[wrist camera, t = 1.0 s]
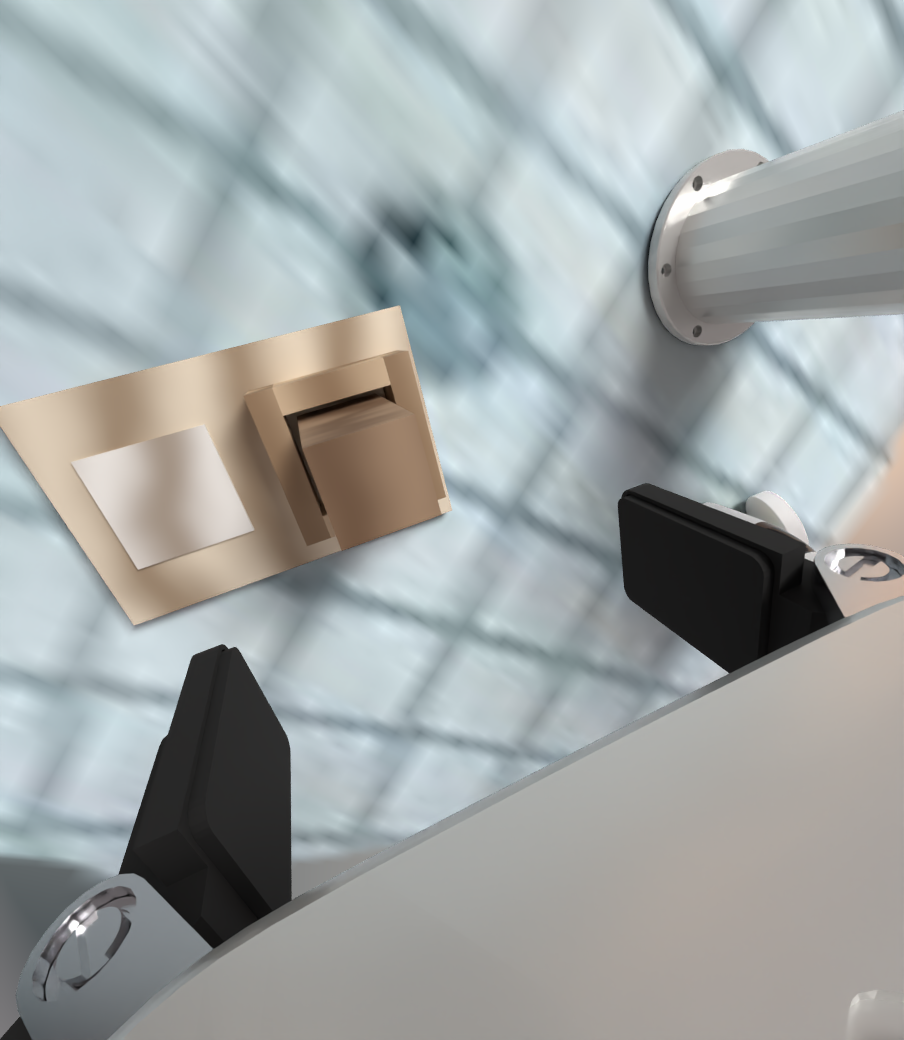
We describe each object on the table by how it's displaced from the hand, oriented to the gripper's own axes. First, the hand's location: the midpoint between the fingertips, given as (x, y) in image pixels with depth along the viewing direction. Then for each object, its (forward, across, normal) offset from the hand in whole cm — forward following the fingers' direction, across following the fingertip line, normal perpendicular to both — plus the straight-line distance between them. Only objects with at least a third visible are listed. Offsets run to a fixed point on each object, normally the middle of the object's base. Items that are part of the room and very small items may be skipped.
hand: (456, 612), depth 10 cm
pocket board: (+22, +6, 0) cm, 23 cm away
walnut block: (+21, 0, 0) cm, 21 cm away
